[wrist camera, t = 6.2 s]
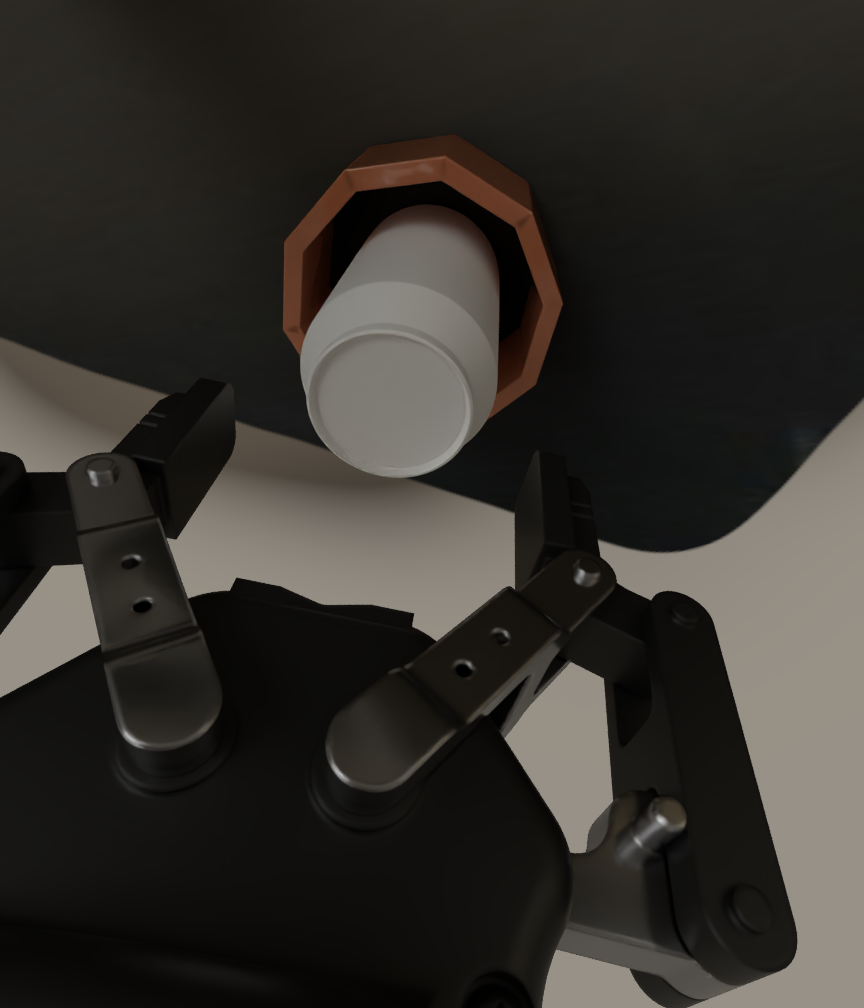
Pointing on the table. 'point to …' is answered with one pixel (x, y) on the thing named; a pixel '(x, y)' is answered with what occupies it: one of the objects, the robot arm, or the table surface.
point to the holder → (469, 177)
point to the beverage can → (407, 345)
